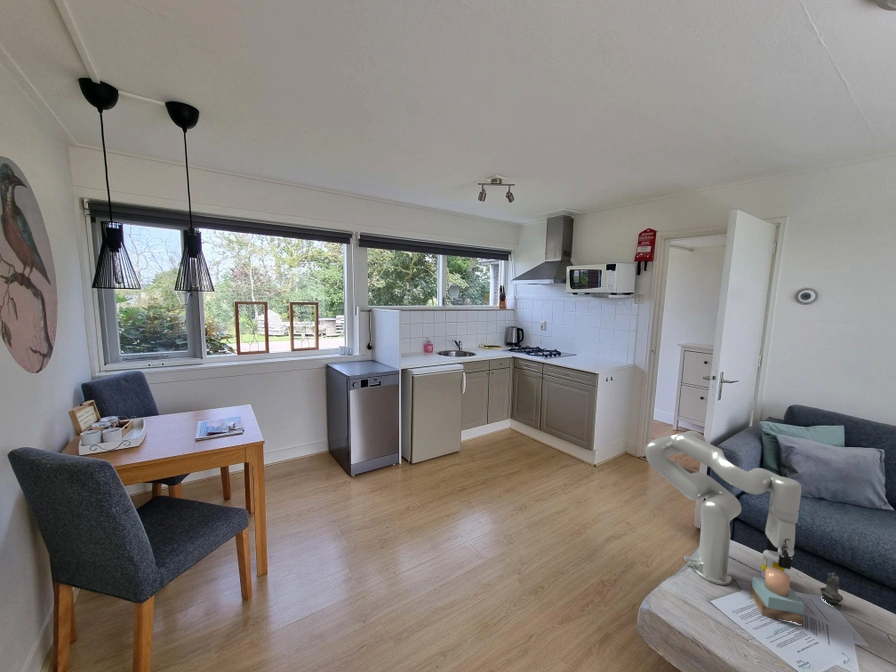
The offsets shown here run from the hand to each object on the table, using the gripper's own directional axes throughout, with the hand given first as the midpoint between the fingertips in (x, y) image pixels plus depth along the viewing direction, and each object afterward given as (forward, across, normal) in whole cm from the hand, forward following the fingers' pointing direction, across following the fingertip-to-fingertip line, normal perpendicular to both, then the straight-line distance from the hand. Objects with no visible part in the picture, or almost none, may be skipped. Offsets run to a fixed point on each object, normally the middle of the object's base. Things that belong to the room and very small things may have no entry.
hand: (777, 558), depth 128 cm
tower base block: (+19, 0, +1) cm, 19 cm away
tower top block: (+15, +1, +1) cm, 15 cm away
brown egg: (+11, +1, 0) cm, 11 cm away
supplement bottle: (+19, -19, +6) cm, 27 cm away
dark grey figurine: (+19, -13, +21) cm, 31 cm away
